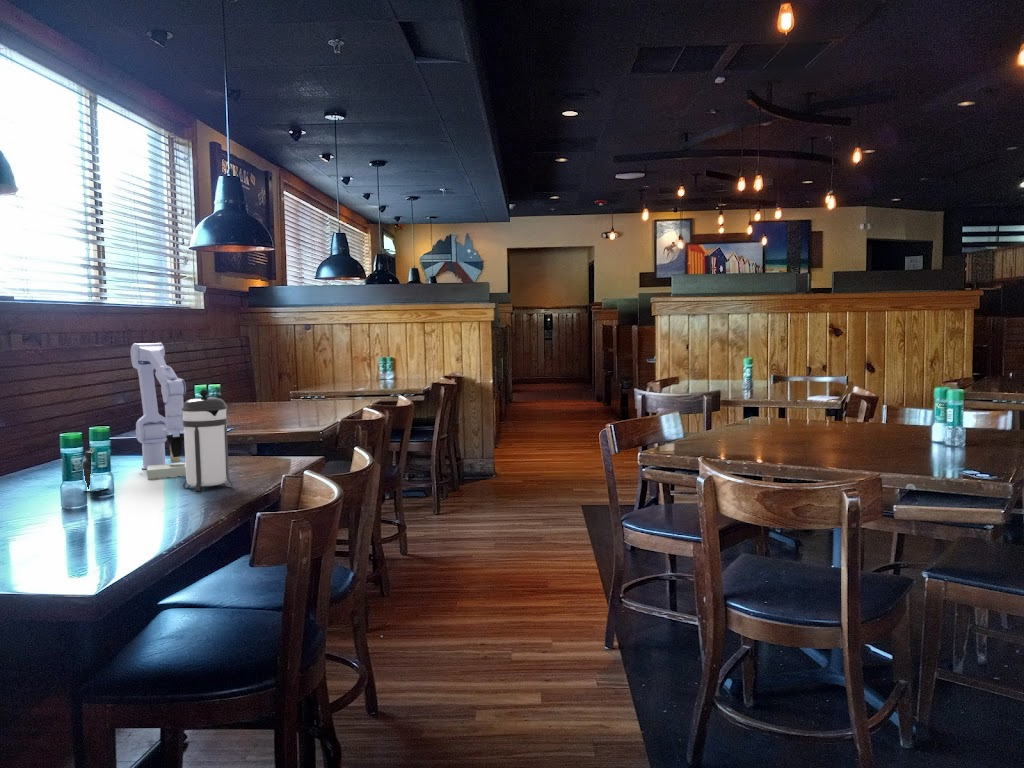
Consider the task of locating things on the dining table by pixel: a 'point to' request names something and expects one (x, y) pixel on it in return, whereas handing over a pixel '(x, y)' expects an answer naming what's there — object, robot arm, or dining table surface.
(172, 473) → the bore block
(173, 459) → the peg
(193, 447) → the coffee press
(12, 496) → the dining table surface
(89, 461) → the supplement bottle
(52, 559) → the dining table surface
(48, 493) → the dining table surface
